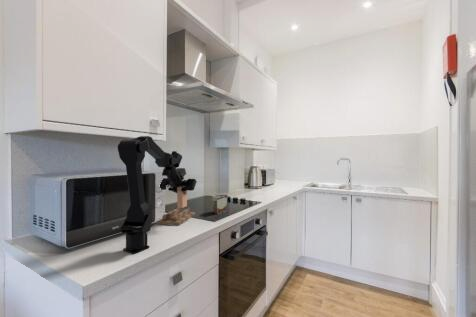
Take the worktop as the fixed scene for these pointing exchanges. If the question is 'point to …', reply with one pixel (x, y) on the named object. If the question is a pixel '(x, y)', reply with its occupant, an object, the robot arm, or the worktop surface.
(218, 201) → the food container
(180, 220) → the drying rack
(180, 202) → the clay strip
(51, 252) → the worktop surface
